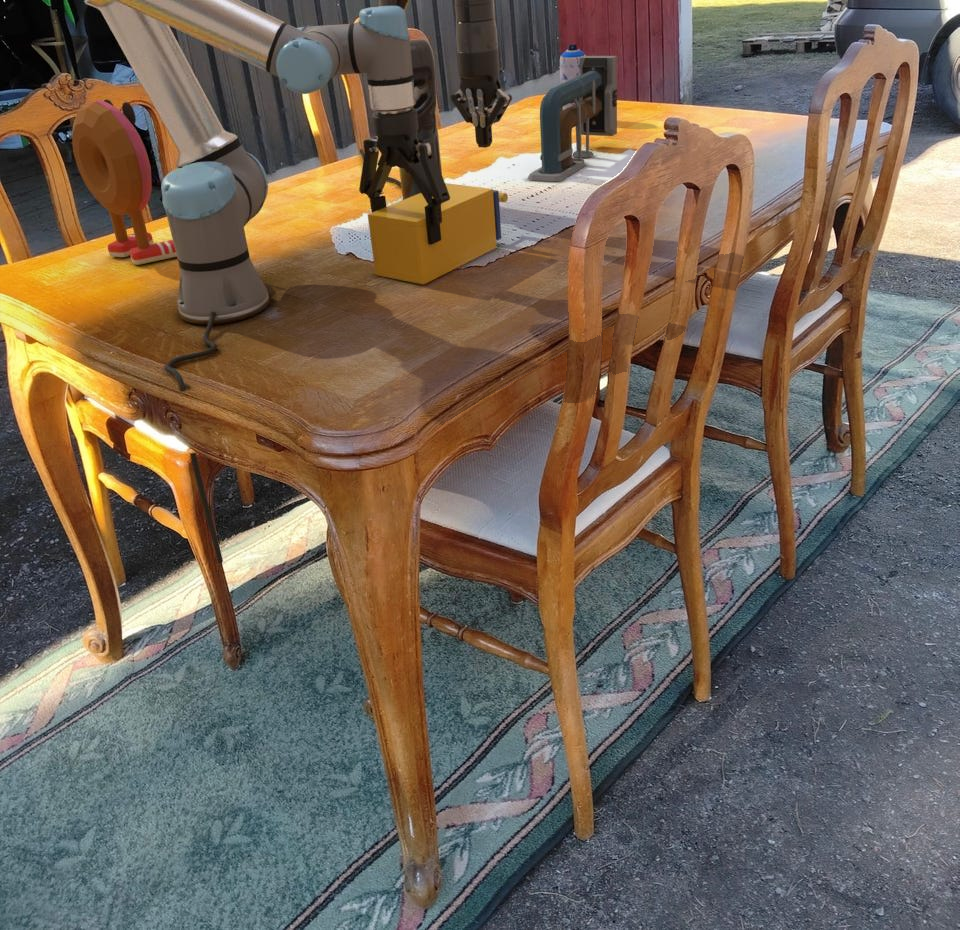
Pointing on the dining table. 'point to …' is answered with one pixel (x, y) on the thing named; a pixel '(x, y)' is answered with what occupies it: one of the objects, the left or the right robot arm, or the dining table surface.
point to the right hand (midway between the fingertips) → (484, 146)
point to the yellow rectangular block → (406, 238)
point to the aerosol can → (570, 66)
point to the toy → (118, 176)
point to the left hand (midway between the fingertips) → (408, 237)
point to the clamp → (577, 117)
